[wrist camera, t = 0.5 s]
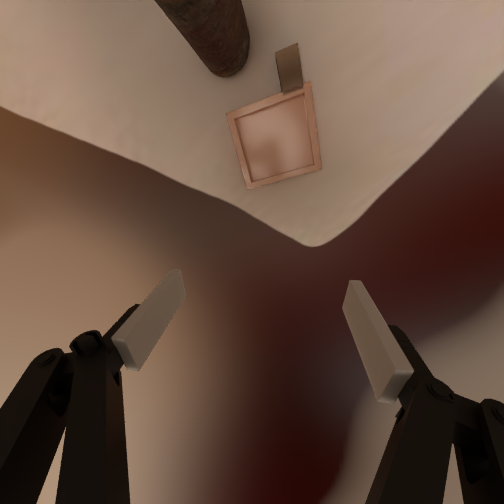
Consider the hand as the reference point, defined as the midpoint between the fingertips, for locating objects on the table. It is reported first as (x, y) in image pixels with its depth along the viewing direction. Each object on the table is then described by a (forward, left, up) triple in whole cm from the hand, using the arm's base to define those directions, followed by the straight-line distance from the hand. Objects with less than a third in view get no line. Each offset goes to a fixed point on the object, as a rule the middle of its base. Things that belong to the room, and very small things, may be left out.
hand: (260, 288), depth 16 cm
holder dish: (-10, +3, -26) cm, 28 cm away
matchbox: (-18, +7, -26) cm, 33 cm away
